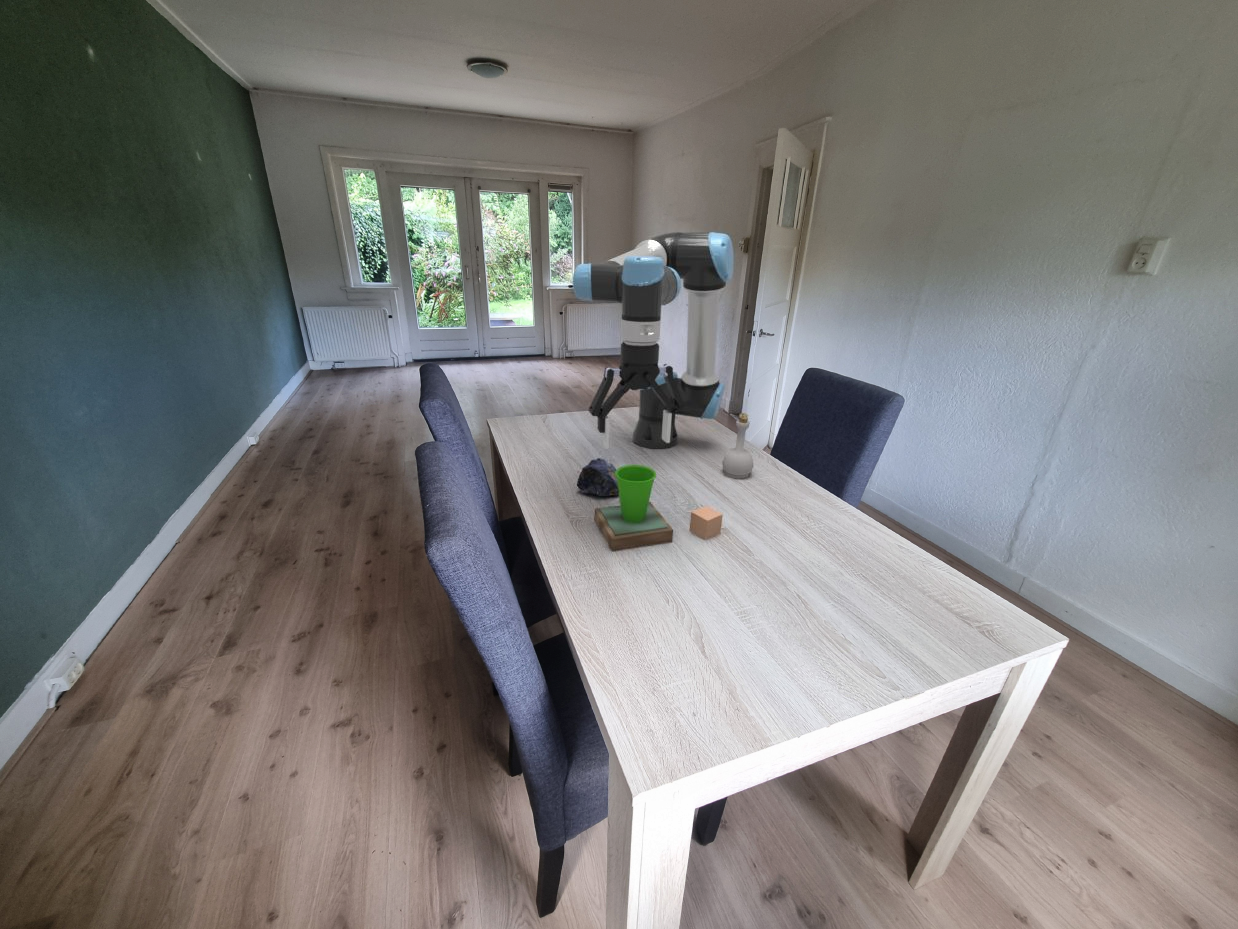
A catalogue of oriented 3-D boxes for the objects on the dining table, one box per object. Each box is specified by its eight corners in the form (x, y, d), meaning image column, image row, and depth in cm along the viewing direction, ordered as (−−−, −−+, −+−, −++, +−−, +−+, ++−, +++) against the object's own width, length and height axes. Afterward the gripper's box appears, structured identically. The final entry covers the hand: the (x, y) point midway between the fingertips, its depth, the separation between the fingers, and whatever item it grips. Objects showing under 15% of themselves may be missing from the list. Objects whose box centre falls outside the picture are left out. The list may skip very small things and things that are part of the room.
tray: (594, 519, 117) (594, 507, 115) (649, 512, 121) (650, 499, 120) (611, 551, 105) (612, 537, 103) (672, 541, 109) (673, 528, 107)
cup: (650, 529, 107) (653, 483, 102) (609, 524, 108) (610, 478, 104) (656, 510, 115) (659, 467, 110) (618, 505, 116) (619, 462, 112)
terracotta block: (689, 530, 114) (691, 511, 112) (704, 524, 116) (706, 505, 114) (705, 540, 110) (707, 520, 108) (720, 533, 113) (722, 514, 111)
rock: (569, 486, 127) (586, 451, 126) (587, 489, 136) (603, 457, 136) (602, 505, 123) (620, 469, 122) (619, 507, 132) (635, 474, 131)
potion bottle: (749, 468, 147) (757, 410, 140) (753, 481, 139) (762, 420, 132) (719, 466, 148) (726, 409, 141) (722, 479, 140) (729, 418, 133)
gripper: (582, 347, 89) (583, 456, 98) (706, 343, 96) (697, 444, 105) (573, 340, 96) (574, 442, 104) (689, 336, 103) (682, 432, 111)
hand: (636, 443), depth 105 cm, fingers open, 13 cm apart
